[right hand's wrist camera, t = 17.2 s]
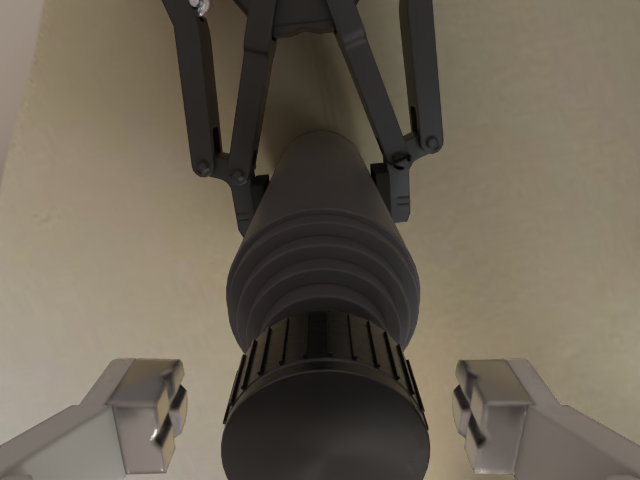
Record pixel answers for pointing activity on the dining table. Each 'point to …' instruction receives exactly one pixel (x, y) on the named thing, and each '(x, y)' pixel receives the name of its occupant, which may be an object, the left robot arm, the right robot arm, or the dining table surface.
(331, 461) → the cap
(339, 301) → the bottle
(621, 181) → the dining table surface
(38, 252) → the dining table surface
